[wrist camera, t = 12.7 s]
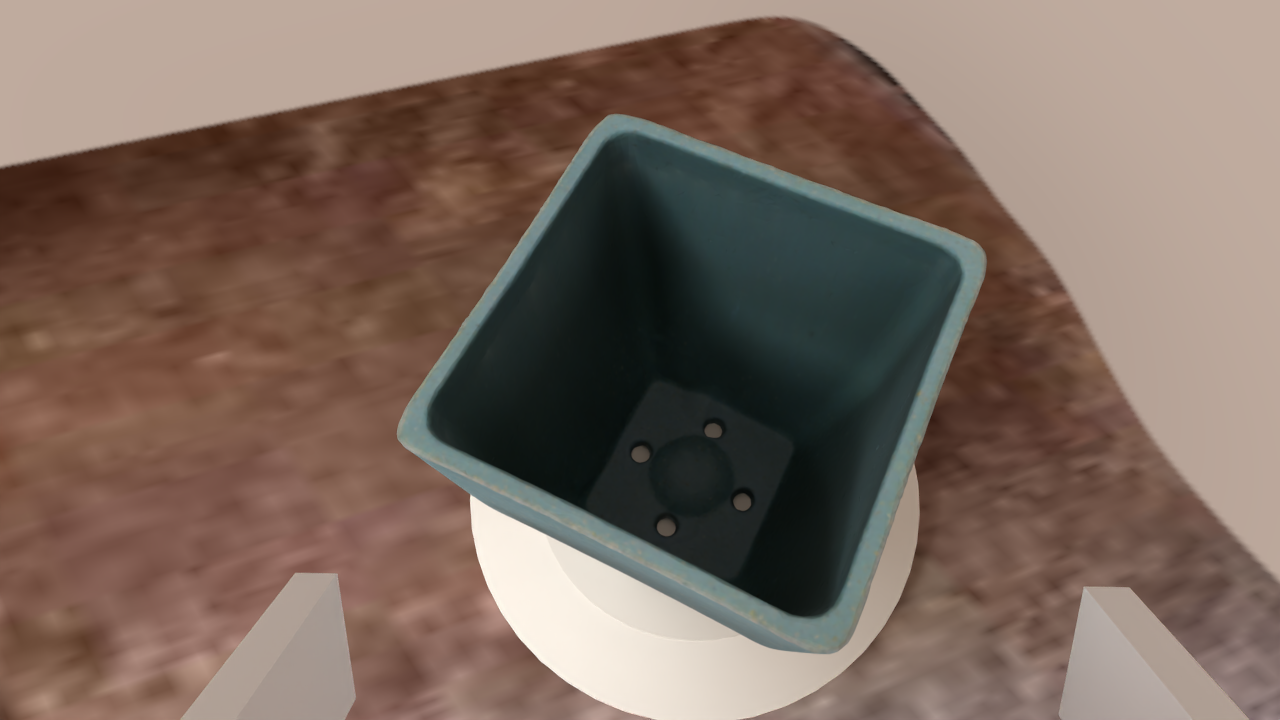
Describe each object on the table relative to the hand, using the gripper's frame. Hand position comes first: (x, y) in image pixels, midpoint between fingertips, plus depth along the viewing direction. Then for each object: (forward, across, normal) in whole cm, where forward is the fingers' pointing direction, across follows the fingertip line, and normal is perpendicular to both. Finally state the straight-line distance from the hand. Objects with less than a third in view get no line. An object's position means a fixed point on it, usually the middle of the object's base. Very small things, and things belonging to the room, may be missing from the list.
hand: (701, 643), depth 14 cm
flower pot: (+9, 0, -2) cm, 9 cm away
